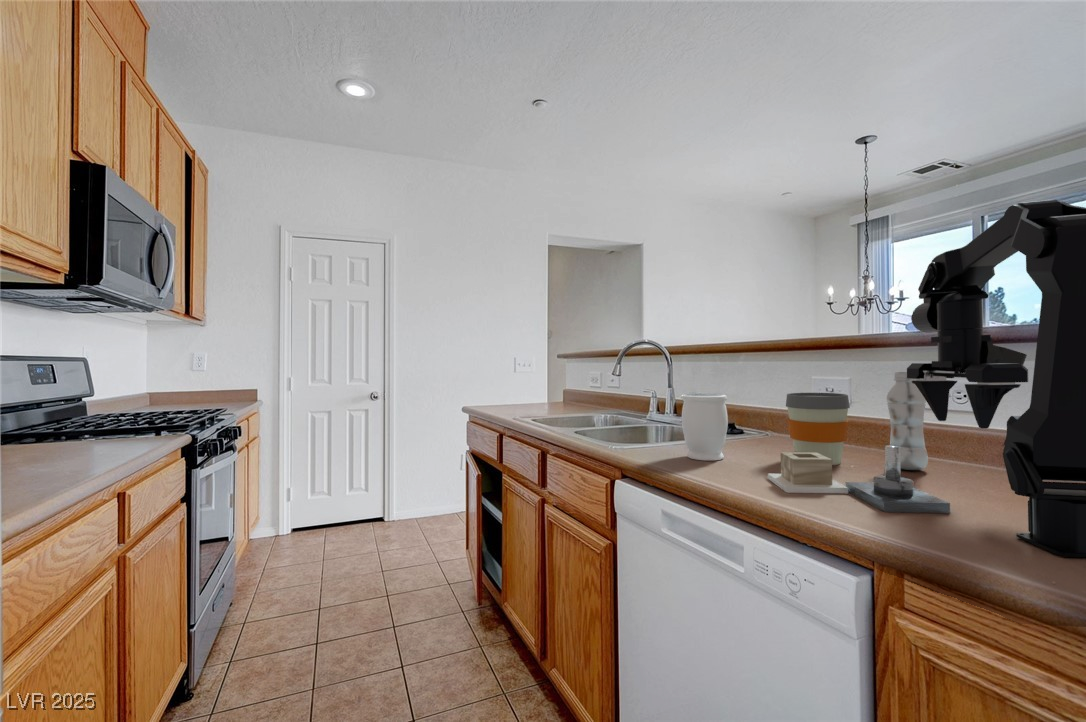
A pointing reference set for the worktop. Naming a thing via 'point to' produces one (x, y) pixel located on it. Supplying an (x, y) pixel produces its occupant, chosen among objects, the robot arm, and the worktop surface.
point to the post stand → (896, 490)
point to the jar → (704, 425)
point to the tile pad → (806, 486)
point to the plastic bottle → (907, 422)
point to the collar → (806, 468)
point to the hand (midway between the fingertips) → (961, 424)
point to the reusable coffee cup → (818, 423)
